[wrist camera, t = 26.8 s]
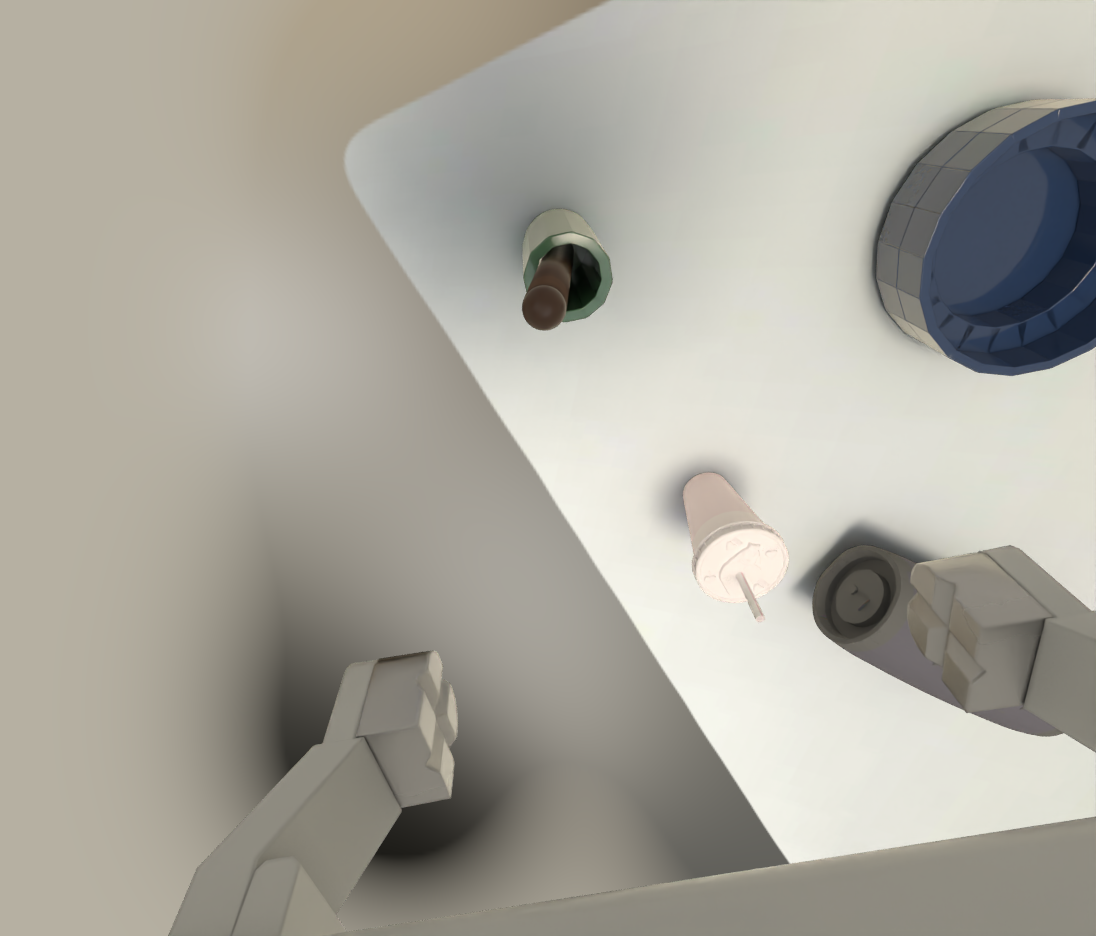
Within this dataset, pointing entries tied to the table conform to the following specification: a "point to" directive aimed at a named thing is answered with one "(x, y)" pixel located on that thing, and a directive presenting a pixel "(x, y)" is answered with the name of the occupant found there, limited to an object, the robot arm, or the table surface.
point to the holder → (588, 263)
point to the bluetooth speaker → (891, 627)
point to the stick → (549, 289)
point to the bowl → (999, 240)
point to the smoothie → (731, 544)
